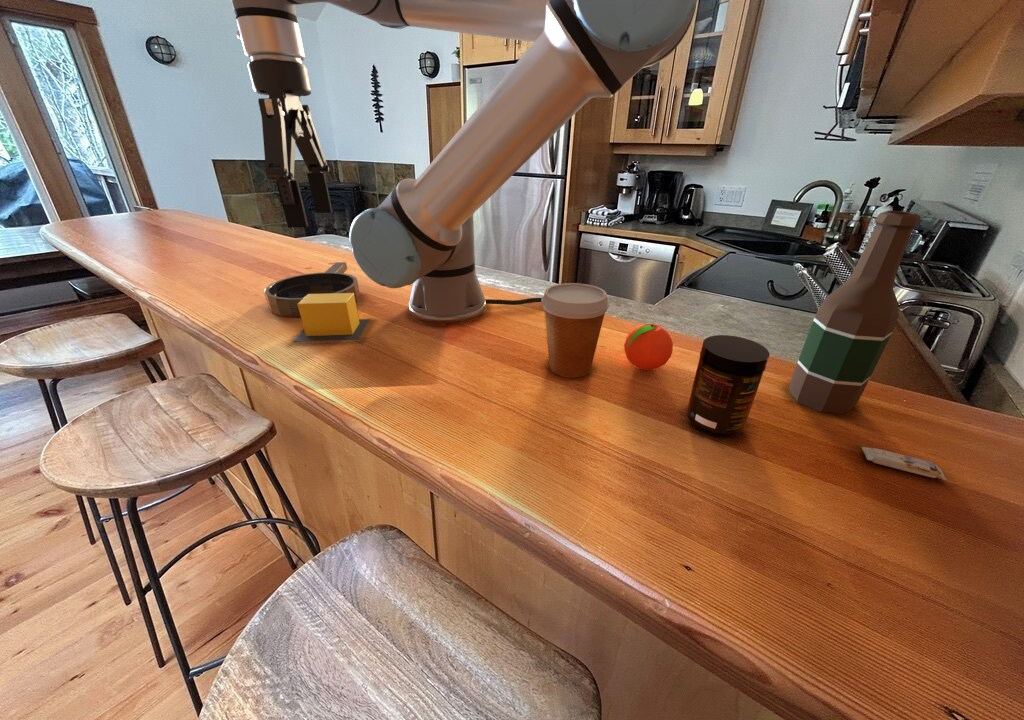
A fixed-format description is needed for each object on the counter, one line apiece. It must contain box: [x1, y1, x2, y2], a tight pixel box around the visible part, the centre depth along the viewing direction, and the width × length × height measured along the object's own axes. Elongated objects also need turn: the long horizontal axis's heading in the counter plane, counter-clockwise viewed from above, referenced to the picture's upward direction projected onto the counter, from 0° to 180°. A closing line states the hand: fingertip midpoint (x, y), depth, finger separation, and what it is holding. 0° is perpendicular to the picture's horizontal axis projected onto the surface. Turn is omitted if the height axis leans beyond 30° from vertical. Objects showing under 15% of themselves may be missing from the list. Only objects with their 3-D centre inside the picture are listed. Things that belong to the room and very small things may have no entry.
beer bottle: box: [788, 210, 921, 415], centre depth 50 cm, size 8×8×24 cm
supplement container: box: [685, 334, 771, 439], centre depth 48 cm, size 7×7×10 cm
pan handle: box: [324, 261, 348, 273], centre depth 98 cm, size 3×11×2 cm, turn 4°
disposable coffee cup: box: [540, 282, 610, 379], centre depth 60 cm, size 10×10×12 cm
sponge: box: [298, 293, 360, 336], centre depth 73 cm, size 8×5×6 cm, turn 94°
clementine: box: [623, 323, 674, 371], centre depth 61 cm, size 8×7×7 cm
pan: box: [263, 271, 361, 318], centre depth 86 cm, size 18×18×4 cm
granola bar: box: [861, 446, 948, 481], centre depth 44 cm, size 7×2×1 cm, turn 63°
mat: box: [292, 318, 371, 343], centre depth 74 cm, size 11×9×1 cm
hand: (312, 219), depth 68 cm, fingers open, 13 cm apart
